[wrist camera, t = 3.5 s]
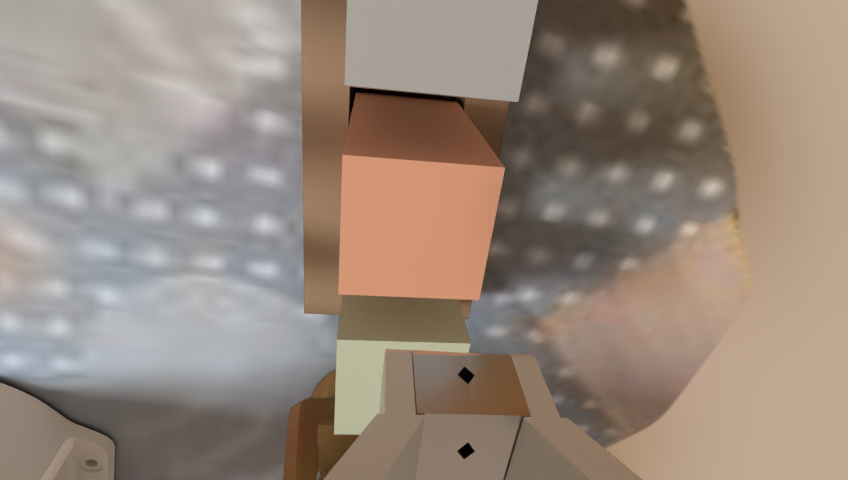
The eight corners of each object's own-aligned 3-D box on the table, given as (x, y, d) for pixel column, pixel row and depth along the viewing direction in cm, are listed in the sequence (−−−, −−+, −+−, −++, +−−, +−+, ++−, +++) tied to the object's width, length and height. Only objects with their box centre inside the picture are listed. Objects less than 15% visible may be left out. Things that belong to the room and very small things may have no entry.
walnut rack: (460, 291, 32) (468, 319, 29) (310, 285, 30) (304, 313, 28) (524, -76, 22) (544, -85, 20) (309, -108, 21) (299, -123, 18)
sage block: (429, 299, 29) (452, 434, 20) (347, 296, 28) (334, 434, 19) (439, 227, 27) (470, 343, 18) (350, 221, 26) (336, 339, 17)
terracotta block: (444, 194, 26) (479, 300, 17) (352, 188, 25) (338, 294, 16) (457, 101, 23) (505, 167, 15) (356, 92, 23) (342, 154, 14)
